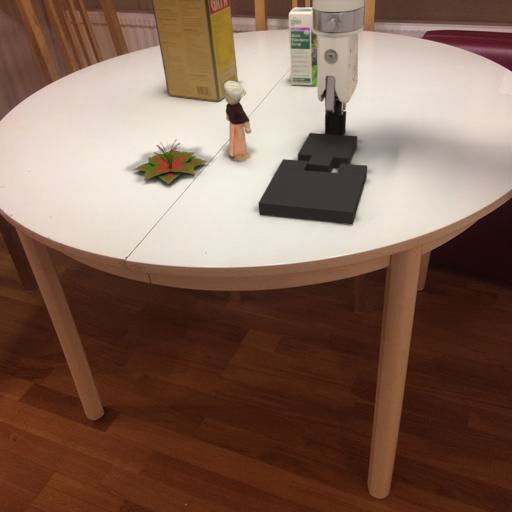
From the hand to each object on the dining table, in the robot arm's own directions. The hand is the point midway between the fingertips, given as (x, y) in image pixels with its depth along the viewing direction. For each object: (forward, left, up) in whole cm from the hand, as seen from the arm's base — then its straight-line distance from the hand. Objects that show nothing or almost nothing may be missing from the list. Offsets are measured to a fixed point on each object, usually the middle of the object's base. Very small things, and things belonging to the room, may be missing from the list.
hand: (335, 134), depth 89 cm
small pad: (0, +7, -1) cm, 7 cm away
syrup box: (+12, -28, -2) cm, 31 cm away
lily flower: (+25, +14, -2) cm, 28 cm away
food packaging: (+33, -20, -2) cm, 38 cm away
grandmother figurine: (+15, +8, -2) cm, 17 cm away
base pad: (0, +18, -1) cm, 18 cm away
